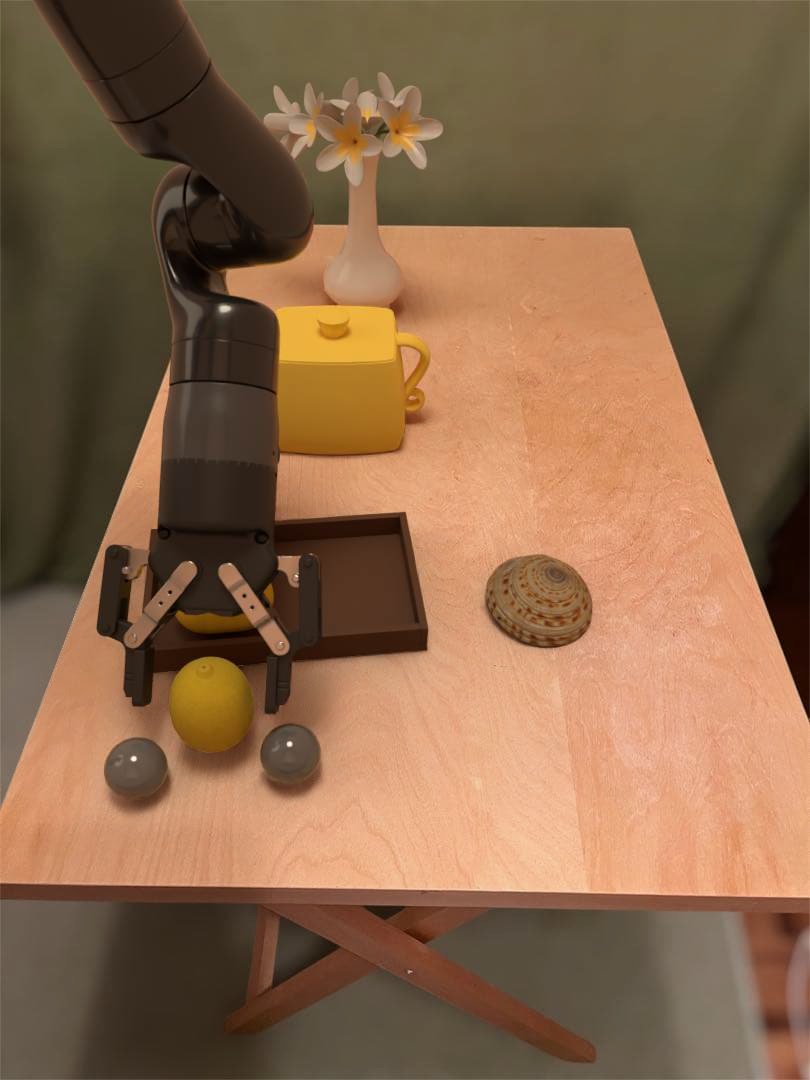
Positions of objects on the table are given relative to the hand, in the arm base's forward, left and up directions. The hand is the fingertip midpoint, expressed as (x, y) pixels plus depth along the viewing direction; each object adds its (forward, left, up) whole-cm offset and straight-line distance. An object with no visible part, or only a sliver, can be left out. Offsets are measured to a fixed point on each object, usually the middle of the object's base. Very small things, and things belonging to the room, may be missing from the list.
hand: (207, 709), depth 59 cm
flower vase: (+15, +60, -5) cm, 62 cm away
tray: (+5, +14, -5) cm, 16 cm away
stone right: (+5, -2, -5) cm, 7 cm away
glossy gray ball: (-5, -2, -5) cm, 7 cm away
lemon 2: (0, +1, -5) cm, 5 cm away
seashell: (+25, +11, -5) cm, 28 cm away
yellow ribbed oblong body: (+1, +12, -4) cm, 12 cm away
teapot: (+10, +38, -5) cm, 40 cm away
